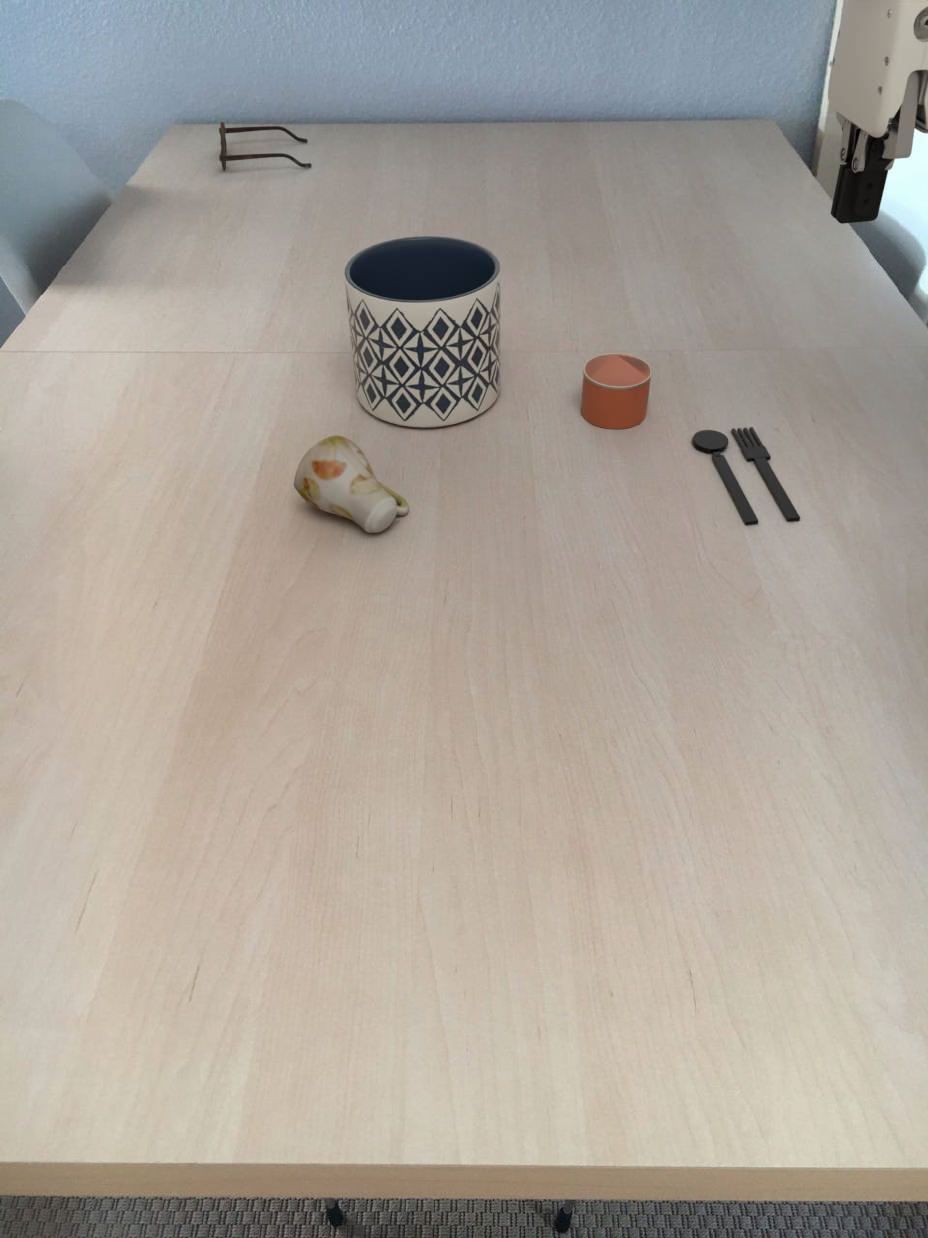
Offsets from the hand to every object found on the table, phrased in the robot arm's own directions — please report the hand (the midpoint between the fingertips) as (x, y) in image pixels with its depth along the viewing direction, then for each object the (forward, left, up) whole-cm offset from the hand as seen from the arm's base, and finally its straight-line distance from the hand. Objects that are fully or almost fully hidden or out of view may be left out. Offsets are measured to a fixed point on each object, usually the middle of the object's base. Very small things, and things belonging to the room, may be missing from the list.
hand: (853, 217), depth 79 cm
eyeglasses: (+111, -34, -26) cm, 119 cm away
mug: (+30, +29, -26) cm, 49 cm away
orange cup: (+20, -1, -26) cm, 33 cm away
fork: (+2, 0, -26) cm, 26 cm away
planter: (+39, +8, -26) cm, 47 cm away
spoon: (+5, +2, -26) cm, 26 cm away
